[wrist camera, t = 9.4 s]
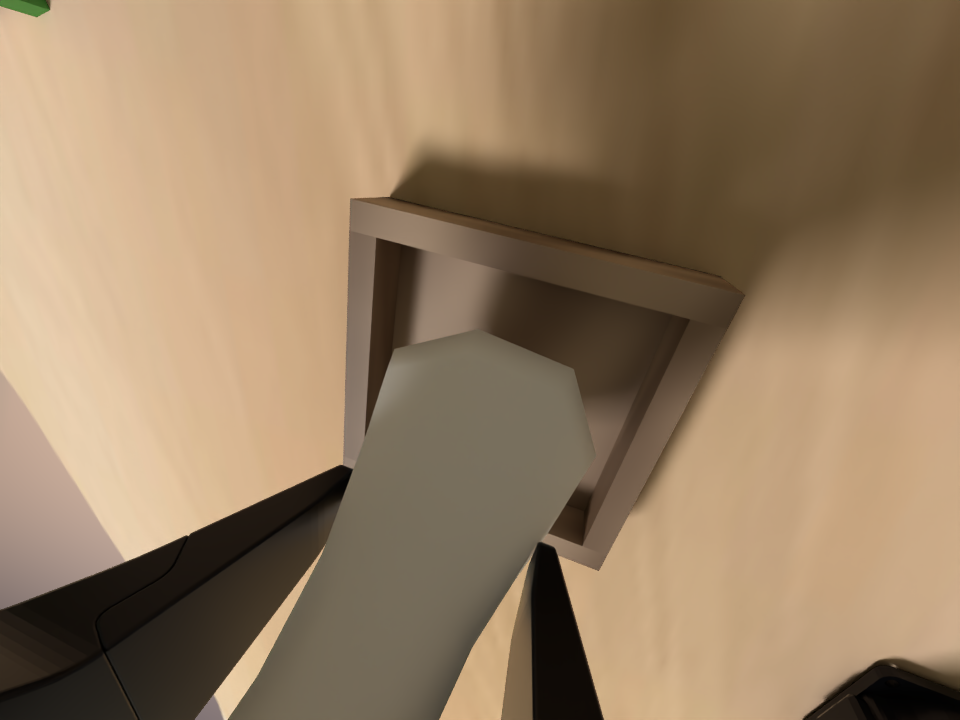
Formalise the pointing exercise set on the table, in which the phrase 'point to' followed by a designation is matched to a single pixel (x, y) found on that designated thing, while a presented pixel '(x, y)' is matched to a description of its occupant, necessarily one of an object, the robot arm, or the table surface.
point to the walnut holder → (538, 335)
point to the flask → (428, 531)
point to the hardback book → (26, 6)
